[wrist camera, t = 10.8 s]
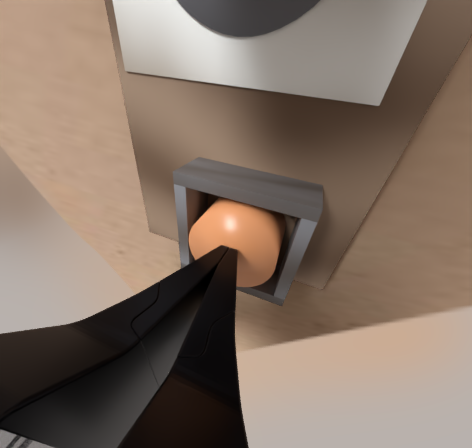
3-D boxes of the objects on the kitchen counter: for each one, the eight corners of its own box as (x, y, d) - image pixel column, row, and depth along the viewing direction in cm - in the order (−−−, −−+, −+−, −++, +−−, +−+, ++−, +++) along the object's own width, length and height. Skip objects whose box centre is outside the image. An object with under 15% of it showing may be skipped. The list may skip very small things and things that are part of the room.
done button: (215, 178, 11) (186, 202, 9) (295, 198, 10) (287, 231, 8) (212, 239, 14) (190, 270, 11) (275, 259, 13) (265, 298, 10)
